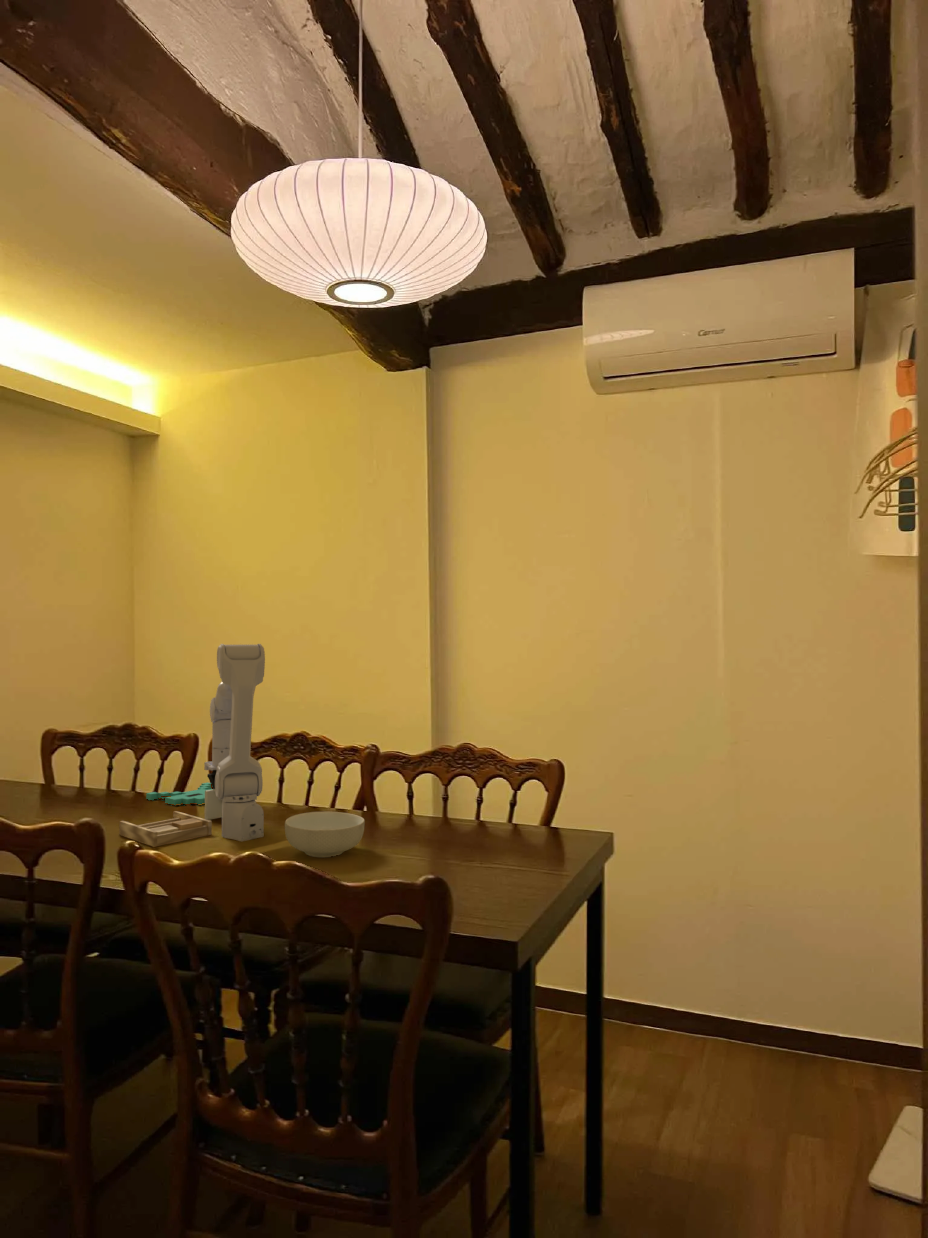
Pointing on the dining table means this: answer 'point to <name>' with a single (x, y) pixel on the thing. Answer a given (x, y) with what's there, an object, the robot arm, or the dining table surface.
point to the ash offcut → (164, 829)
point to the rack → (152, 839)
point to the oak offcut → (187, 824)
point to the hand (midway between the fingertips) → (223, 802)
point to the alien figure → (182, 795)
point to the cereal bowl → (324, 832)
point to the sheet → (212, 805)
